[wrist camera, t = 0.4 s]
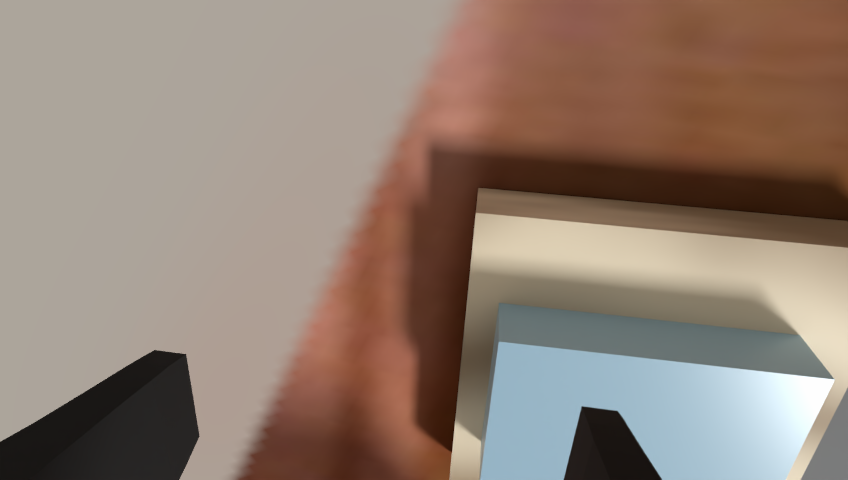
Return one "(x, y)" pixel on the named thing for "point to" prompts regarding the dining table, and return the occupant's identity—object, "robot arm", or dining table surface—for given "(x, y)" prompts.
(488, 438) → the light blue block
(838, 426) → the mat
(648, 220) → the beige flat square slab
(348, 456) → the dining table surface
